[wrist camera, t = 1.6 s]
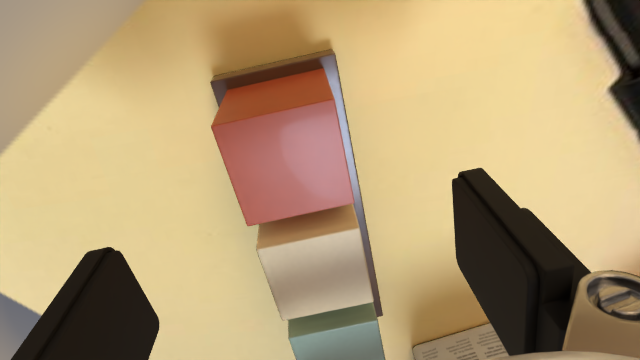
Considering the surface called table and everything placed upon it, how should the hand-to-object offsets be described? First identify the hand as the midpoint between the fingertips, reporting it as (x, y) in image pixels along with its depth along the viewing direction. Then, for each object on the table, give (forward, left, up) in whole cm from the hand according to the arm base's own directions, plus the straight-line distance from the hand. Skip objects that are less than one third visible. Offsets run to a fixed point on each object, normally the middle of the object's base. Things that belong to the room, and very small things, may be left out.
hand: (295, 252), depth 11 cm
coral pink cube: (0, 0, -9) cm, 9 cm away
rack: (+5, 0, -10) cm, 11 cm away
